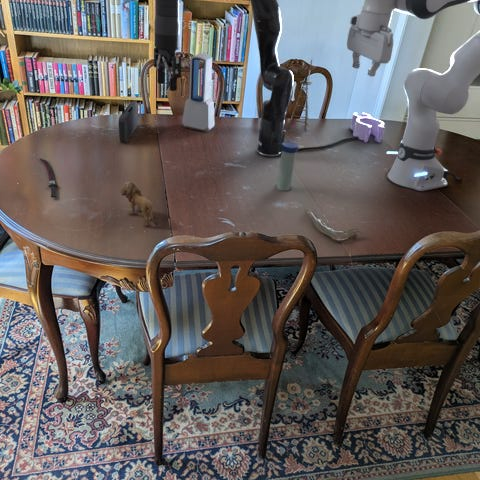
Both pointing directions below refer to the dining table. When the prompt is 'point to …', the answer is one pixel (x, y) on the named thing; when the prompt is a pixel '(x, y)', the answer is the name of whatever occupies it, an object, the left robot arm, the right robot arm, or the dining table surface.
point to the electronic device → (199, 97)
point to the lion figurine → (137, 201)
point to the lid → (289, 147)
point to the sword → (52, 181)
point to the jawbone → (331, 232)
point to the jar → (285, 171)
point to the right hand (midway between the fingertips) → (363, 71)
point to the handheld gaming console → (128, 121)
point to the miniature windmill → (305, 83)
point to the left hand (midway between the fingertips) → (166, 86)
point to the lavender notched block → (367, 127)
